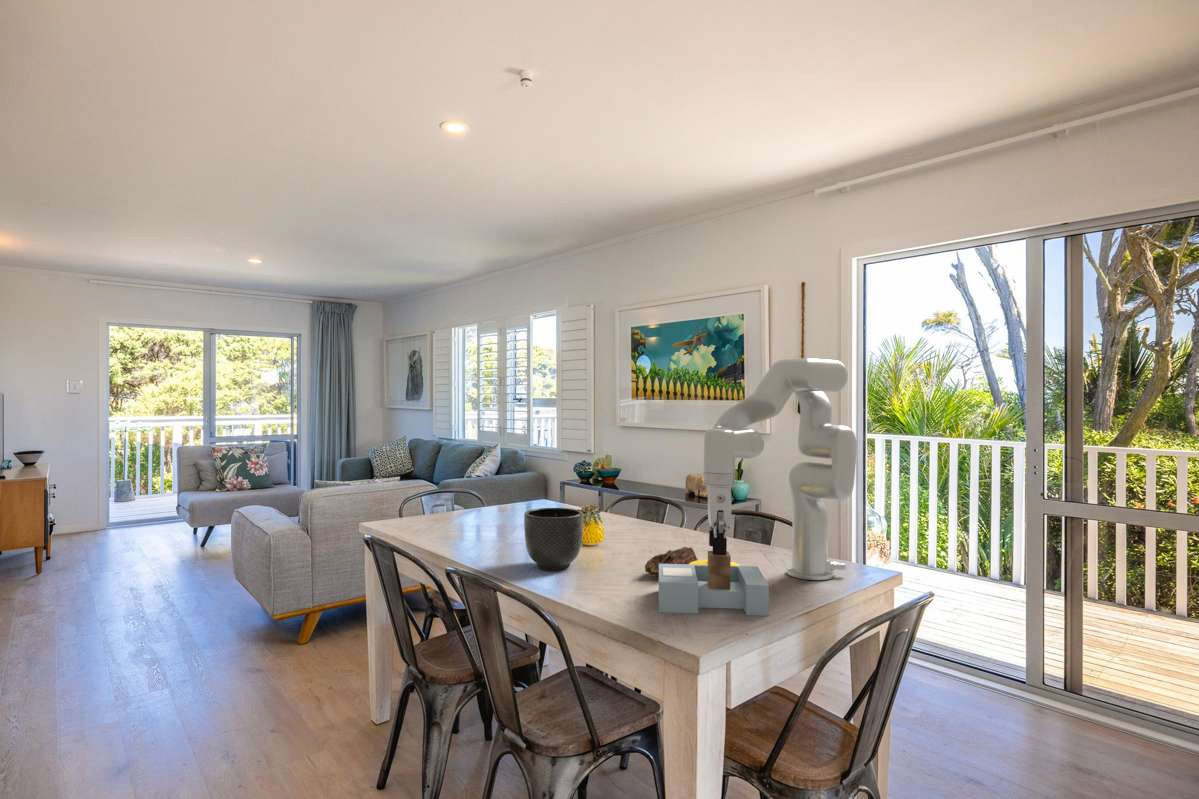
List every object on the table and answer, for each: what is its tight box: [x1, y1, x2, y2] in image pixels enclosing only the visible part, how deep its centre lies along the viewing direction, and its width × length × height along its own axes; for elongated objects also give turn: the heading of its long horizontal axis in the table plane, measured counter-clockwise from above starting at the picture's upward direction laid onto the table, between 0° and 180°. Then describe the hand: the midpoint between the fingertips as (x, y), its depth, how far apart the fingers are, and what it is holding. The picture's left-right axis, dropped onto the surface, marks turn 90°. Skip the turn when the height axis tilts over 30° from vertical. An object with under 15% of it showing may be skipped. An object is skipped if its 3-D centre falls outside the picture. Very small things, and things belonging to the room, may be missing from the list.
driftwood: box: [644, 546, 699, 577], centre depth 190 cm, size 23×8×8 cm, turn 152°
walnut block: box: [707, 550, 732, 590], centre depth 161 cm, size 5×5×8 cm
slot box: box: [658, 564, 770, 617], centre depth 161 cm, size 25×17×7 cm
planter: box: [523, 507, 584, 572], centre depth 194 cm, size 17×17×16 cm
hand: (717, 550), depth 161 cm, fingers open, 9 cm apart
